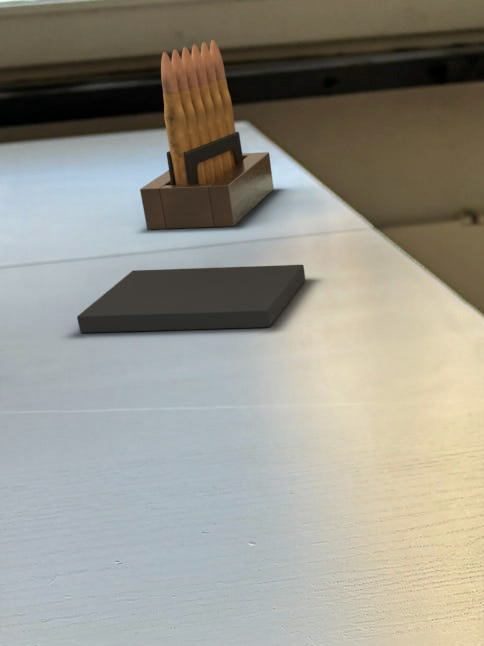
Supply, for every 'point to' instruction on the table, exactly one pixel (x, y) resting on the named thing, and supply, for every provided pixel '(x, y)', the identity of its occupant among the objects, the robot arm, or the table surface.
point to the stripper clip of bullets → (198, 116)
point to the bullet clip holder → (208, 197)
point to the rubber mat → (194, 299)
